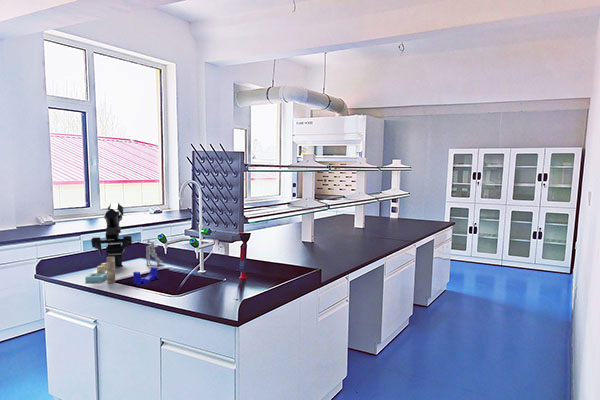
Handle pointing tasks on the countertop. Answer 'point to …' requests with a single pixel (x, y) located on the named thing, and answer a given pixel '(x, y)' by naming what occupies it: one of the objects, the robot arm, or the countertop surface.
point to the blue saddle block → (150, 277)
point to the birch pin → (110, 269)
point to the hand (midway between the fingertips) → (111, 255)
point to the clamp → (152, 254)
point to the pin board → (98, 274)
